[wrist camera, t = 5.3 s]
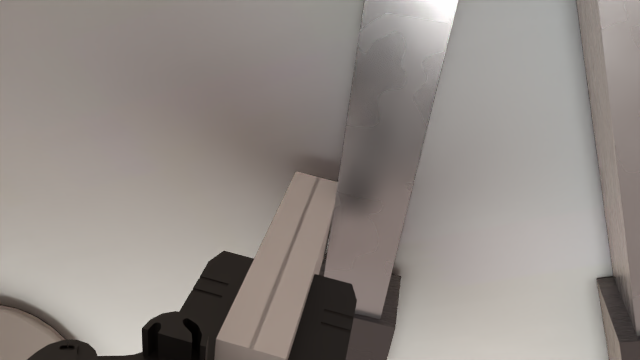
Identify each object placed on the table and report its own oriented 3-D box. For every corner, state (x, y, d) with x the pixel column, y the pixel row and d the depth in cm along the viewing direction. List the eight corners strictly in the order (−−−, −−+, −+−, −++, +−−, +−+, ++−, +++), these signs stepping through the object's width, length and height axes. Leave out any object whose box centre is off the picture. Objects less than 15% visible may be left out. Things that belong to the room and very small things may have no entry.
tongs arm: (432, -577, 9) (423, -865, 5) (620, -572, 8) (744, -877, 5) (306, 348, 21) (279, 441, 18) (377, 365, 21) (364, 463, 18)
